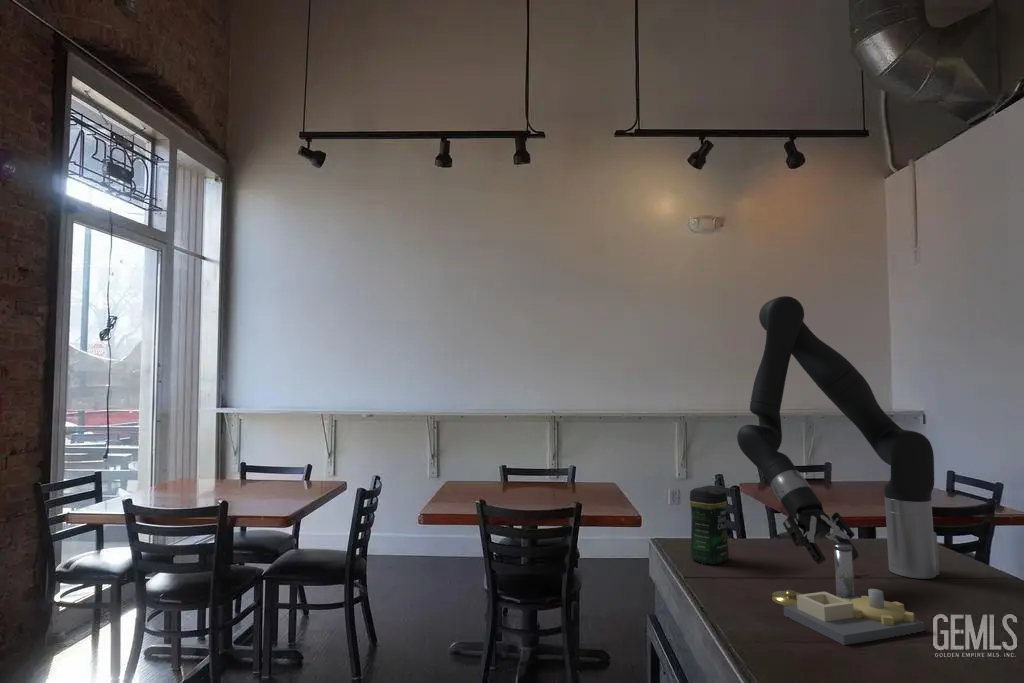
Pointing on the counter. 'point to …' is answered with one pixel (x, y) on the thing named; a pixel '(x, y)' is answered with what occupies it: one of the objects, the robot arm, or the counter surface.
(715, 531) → the coffee jar
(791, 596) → the brass knob disc
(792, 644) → the counter surface
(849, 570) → the grey cylinder peg
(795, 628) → the counter surface
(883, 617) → the gear board
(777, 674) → the counter surface
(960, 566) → the counter surface
